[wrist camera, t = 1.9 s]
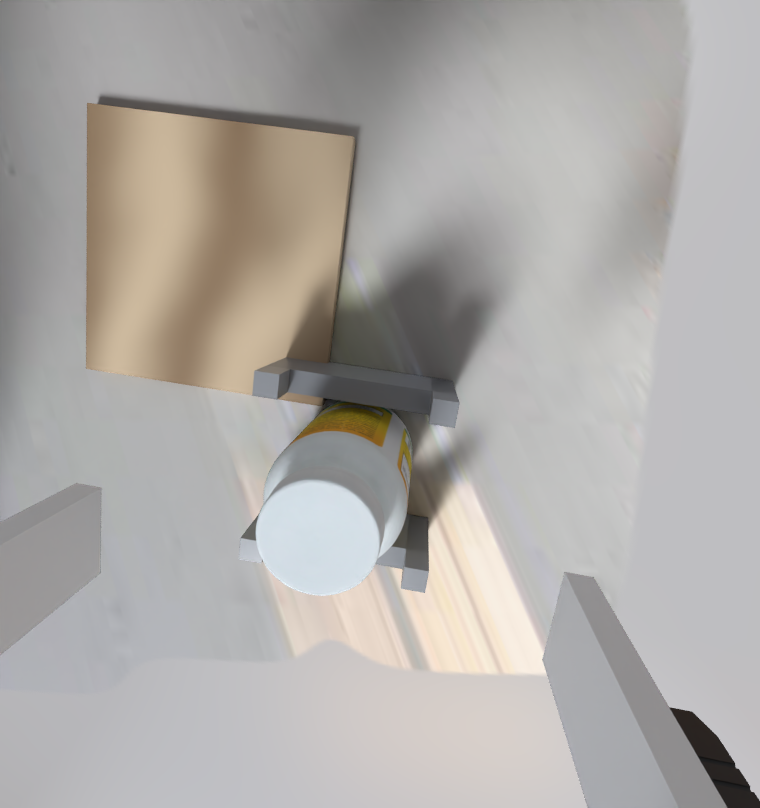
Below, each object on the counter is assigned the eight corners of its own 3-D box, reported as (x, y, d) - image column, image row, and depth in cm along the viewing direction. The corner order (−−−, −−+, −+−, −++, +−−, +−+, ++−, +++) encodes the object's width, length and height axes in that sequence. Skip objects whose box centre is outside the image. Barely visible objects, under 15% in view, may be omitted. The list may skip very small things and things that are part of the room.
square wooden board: (94, 366, 25) (86, 368, 24) (96, 107, 22) (87, 103, 21) (324, 403, 24) (322, 406, 23) (355, 140, 21) (353, 136, 21)
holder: (274, 509, 26) (238, 559, 21) (289, 355, 24) (254, 370, 19) (424, 535, 25) (424, 592, 20) (452, 380, 23) (459, 402, 18)
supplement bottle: (434, 456, 24) (440, 556, 15) (353, 517, 25) (311, 646, 16) (364, 373, 24) (325, 423, 14) (285, 439, 25) (199, 525, 15)
